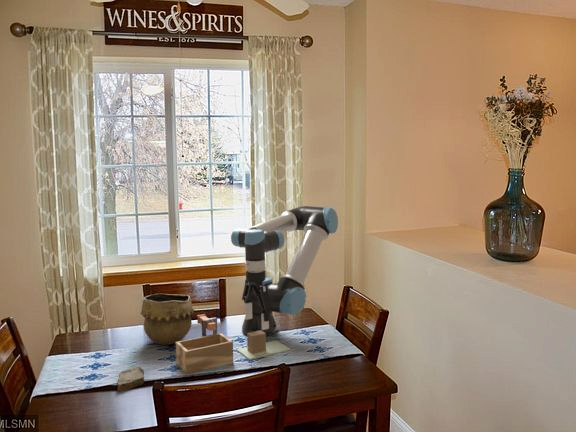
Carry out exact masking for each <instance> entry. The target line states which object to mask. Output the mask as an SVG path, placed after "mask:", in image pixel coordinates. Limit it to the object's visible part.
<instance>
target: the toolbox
mask: <svg viewBox="0 0 576 432" xmlns="http://www.w3.org/2000/svg"><path fill="white" fill-rule="evenodd" d="M175 363H176V365H178V367H180V368H181V369H182V370H183V372H184V373H185V374H186V375H187V374H192V373H195V372H201V371H205V370H208V369H212V368H216V367H221V366H225V365H229V364H232V363H234V341H233V340H231V339H230V338H228V337H227V336H226V335H224V333H222V332H217V334H213V333H212V334H209V335H206V336H203V337H202V336H199V337H195V338H194V337H193V338H189V339H184V340H183V339H182V340H180V341H178V342H176V343H175Z"/></svg>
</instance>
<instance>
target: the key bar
mask: <svg viewBox="0 0 576 432" xmlns="http://www.w3.org/2000/svg"><path fill="white" fill-rule="evenodd" d="M196 318H197V322H196V323H197V324H200V325H201V326H202V320H203V319H209V317H207V316H206V314H205V313H204V314H197V317H196ZM206 330H208V331H209V332H210V331H213V330H216V323H214V322H213V321H208V322H206Z"/></svg>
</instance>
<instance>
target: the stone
mask: <svg viewBox="0 0 576 432" xmlns="http://www.w3.org/2000/svg"><path fill="white" fill-rule="evenodd" d="M144 374H145V371H144V369H143V368H142V367H141V366H135V367H132V368H127V369H125V370H121V371H119V373H118V382H117V392H118V393H124V392H127V391H129V390H132V389H133V388H137V387H139V386H142V385H144V383H145V376H144Z"/></svg>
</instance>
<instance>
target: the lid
mask: <svg viewBox="0 0 576 432" xmlns="http://www.w3.org/2000/svg"><path fill="white" fill-rule="evenodd" d="M246 338H247V340H246V341H247V346H245V347H241V348H236V352H237V353H239V354H240V355H242V356H243V357H244V358H245V359H247V360H248V361H252V360H257V359H260V358H265V357H269V356H272V355H276V354H280V353H281V354H282V353H284V352H289V350H290V351H291V348H289V347H288V346H286V345H284V344H283V343H282V342H280V341H278V340H272V341H268V342H267V336H266V333H264V332H263V331H261V330H260V331H255V332H251V333H247V335H246Z"/></svg>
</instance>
